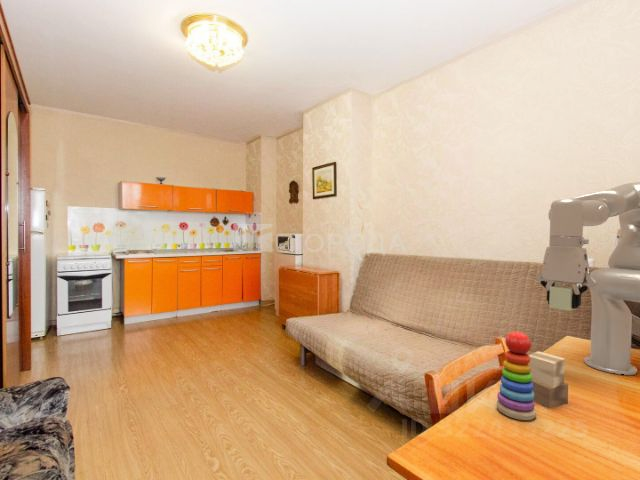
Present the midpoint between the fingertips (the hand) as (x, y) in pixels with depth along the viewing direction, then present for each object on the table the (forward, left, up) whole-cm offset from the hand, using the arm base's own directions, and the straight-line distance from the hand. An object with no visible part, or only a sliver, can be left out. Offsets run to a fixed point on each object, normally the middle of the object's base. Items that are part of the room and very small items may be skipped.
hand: (563, 305), depth 93 cm
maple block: (+17, +2, -17) cm, 24 cm away
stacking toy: (+30, +1, -22) cm, 37 cm away
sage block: (0, 0, -1) cm, 1 cm away
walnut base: (+17, +2, -22) cm, 28 cm away
